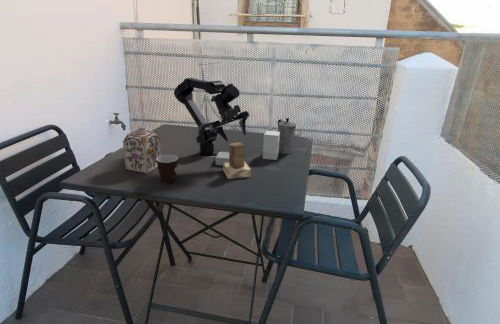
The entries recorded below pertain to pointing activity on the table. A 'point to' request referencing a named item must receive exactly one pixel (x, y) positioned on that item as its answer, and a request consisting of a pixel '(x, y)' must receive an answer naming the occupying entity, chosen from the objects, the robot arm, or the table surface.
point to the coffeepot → (286, 136)
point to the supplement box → (271, 145)
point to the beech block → (236, 171)
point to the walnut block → (236, 155)
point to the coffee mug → (167, 168)
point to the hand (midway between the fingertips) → (236, 138)
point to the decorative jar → (141, 150)
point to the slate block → (222, 158)
